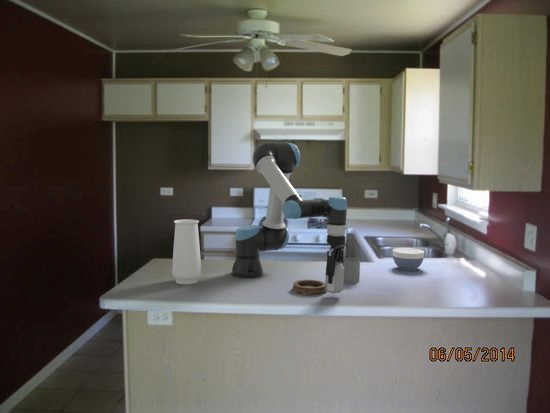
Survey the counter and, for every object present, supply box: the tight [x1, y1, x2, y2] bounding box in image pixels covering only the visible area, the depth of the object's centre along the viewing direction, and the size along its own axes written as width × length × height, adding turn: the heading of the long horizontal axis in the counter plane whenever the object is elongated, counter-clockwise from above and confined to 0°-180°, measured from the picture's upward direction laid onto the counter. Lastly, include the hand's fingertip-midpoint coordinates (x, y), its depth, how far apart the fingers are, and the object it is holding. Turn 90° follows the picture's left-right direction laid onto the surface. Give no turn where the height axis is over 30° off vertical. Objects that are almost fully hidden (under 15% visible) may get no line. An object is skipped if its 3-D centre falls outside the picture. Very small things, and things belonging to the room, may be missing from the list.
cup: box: [344, 257, 361, 284], centre depth 246 cm, size 8×8×10 cm
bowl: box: [392, 247, 425, 272], centre depth 272 cm, size 16×16×10 cm
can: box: [325, 262, 345, 294], centre depth 219 cm, size 8×8×12 cm
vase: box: [172, 218, 202, 285], centre depth 239 cm, size 13×13×28 cm
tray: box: [292, 279, 328, 297], centre depth 229 cm, size 15×15×3 cm
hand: (334, 288), depth 219 cm, fingers closed on can, 7 cm apart
